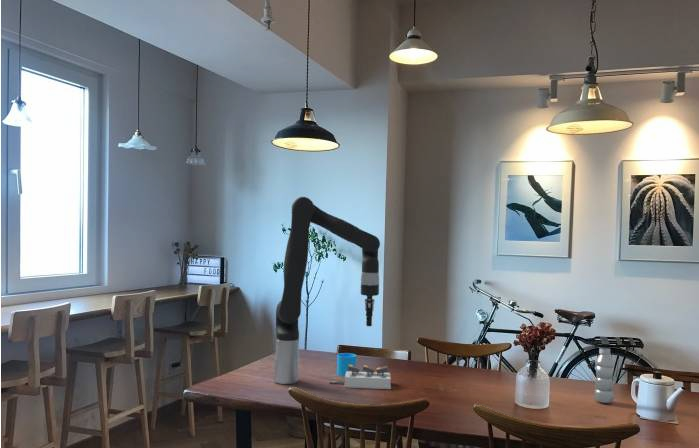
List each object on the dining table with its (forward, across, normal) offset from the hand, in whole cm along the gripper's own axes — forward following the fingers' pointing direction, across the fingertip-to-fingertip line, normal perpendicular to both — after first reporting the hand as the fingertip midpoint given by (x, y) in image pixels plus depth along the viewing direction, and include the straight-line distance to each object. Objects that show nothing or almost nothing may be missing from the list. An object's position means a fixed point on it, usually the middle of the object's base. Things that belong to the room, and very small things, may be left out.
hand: (369, 325), depth 220 cm
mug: (+23, -13, -9) cm, 28 cm away
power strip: (+23, +5, -3) cm, 24 cm away
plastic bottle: (+23, +17, +88) cm, 93 cm away
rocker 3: (+18, +4, +6) cm, 19 cm away
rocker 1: (+18, +4, -6) cm, 19 cm away
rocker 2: (+18, +4, 0) cm, 18 cm away
